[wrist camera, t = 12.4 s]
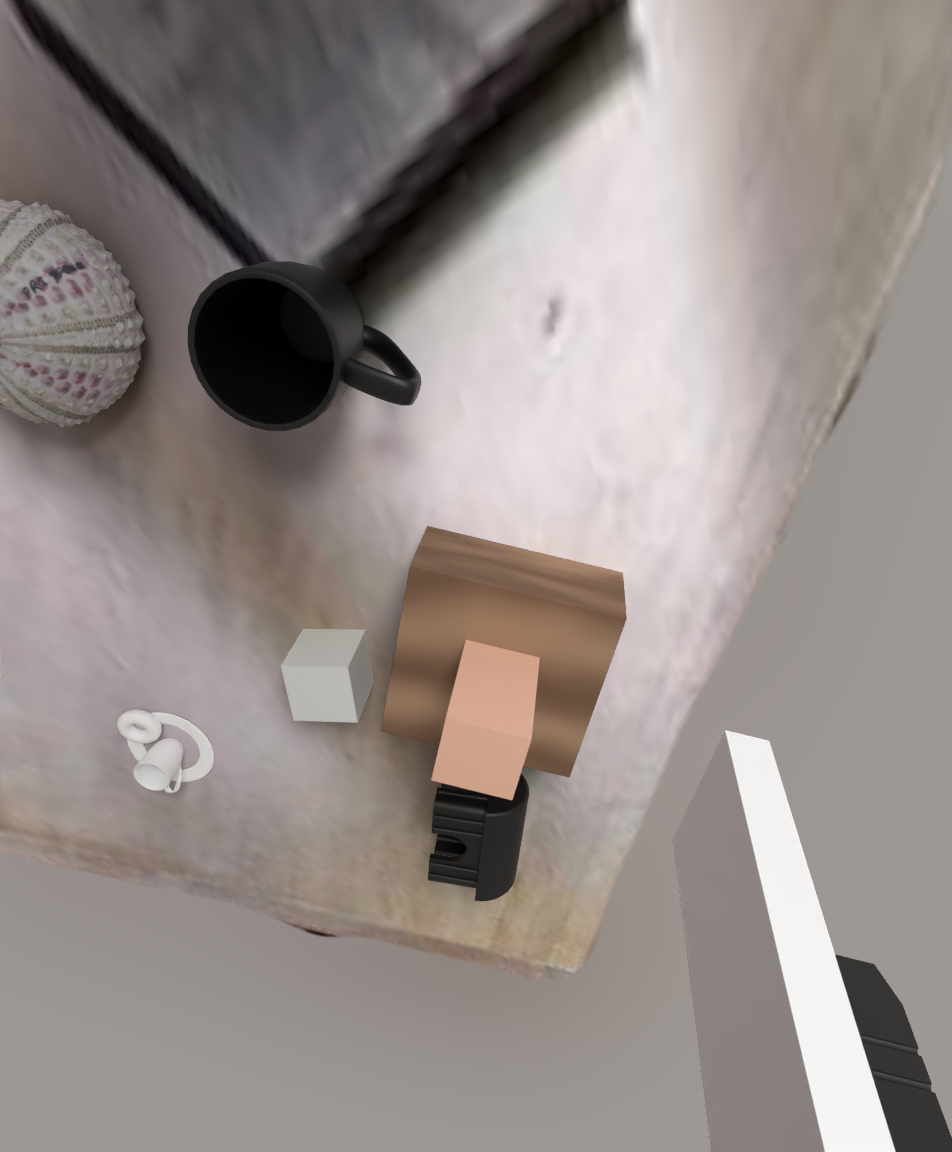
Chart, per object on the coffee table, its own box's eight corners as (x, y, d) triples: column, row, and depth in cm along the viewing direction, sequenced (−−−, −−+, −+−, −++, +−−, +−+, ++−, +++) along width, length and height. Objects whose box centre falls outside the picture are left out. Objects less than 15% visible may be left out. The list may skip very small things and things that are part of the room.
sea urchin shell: (-62, 179, 46) (-178, 183, 39) (152, 212, 45) (73, 222, 38) (-19, 393, 53) (-111, 429, 46) (169, 425, 52) (104, 466, 45)
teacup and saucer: (114, 701, 65) (87, 732, 62) (200, 701, 64) (177, 733, 61) (145, 777, 70) (122, 810, 66) (226, 778, 68) (206, 812, 65)
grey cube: (303, 628, 59) (280, 665, 54) (365, 629, 58) (347, 667, 54) (314, 680, 61) (293, 720, 57) (374, 682, 60) (357, 722, 56)
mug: (422, 423, 49) (389, 477, 41) (247, 360, 49) (177, 401, 40) (460, 298, 45) (431, 329, 37) (268, 228, 45) (196, 244, 36)
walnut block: (427, 526, 53) (409, 566, 48) (622, 572, 53) (626, 618, 47) (398, 681, 60) (380, 731, 55) (571, 723, 60) (569, 777, 54)
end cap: (518, 842, 67) (512, 908, 61) (440, 829, 67) (425, 893, 62) (532, 758, 62) (526, 821, 56) (447, 745, 62) (432, 806, 57)
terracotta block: (465, 639, 50) (445, 717, 43) (539, 657, 50) (531, 738, 43) (452, 697, 52) (431, 780, 45) (522, 714, 52) (512, 800, 45)
